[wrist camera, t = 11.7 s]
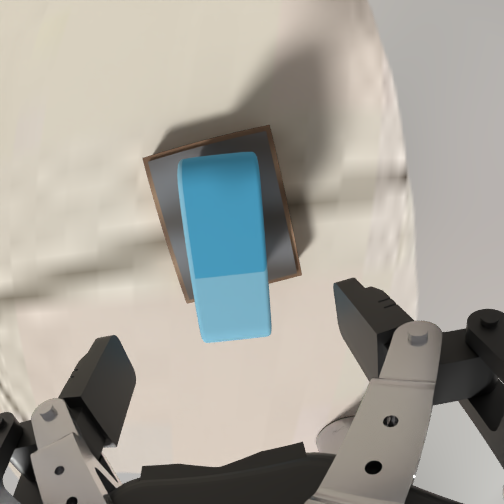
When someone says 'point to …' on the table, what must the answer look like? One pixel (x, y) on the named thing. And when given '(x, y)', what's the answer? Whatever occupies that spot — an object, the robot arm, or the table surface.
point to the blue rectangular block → (226, 245)
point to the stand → (273, 201)
